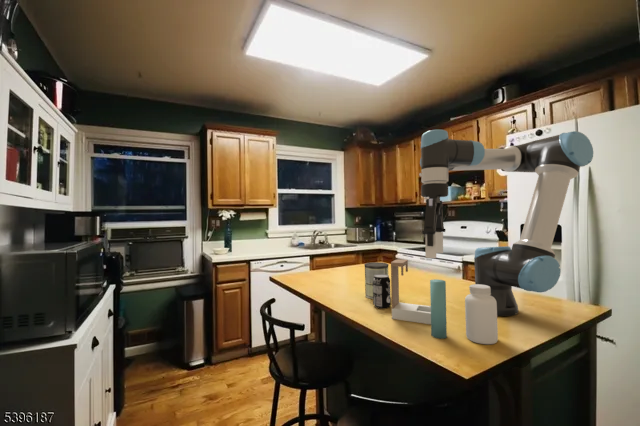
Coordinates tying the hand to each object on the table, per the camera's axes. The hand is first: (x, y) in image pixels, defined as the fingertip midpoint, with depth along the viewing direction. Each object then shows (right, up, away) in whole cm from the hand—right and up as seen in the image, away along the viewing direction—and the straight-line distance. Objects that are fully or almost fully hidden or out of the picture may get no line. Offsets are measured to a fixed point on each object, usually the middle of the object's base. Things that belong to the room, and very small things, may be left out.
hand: (434, 255), depth 90 cm
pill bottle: (+12, -23, -4) cm, 26 cm away
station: (-1, -24, +14) cm, 27 cm away
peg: (+1, -23, -1) cm, 23 cm away
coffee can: (-9, -24, +42) cm, 49 cm away
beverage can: (-10, -24, +28) cm, 38 cm away
